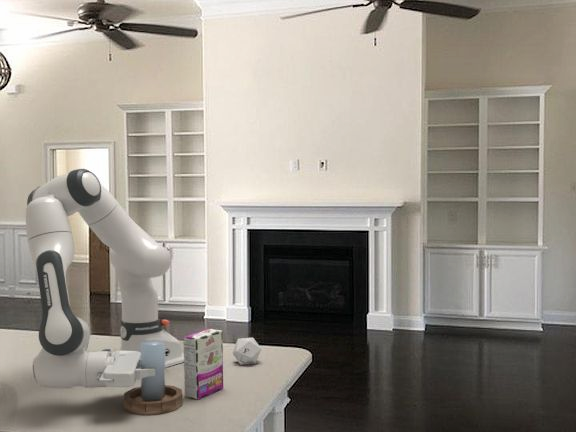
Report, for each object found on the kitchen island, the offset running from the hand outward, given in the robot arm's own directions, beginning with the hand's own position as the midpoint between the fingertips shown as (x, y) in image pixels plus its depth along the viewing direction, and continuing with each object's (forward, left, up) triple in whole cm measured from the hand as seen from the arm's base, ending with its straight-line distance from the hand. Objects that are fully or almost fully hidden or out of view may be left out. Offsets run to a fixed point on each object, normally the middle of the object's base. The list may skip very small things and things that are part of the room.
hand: (156, 367), depth 162 cm
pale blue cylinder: (+1, -1, -7) cm, 8 cm away
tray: (+1, -1, -10) cm, 10 cm away
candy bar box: (-14, 0, -10) cm, 17 cm away
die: (-41, -15, -10) cm, 45 cm away
